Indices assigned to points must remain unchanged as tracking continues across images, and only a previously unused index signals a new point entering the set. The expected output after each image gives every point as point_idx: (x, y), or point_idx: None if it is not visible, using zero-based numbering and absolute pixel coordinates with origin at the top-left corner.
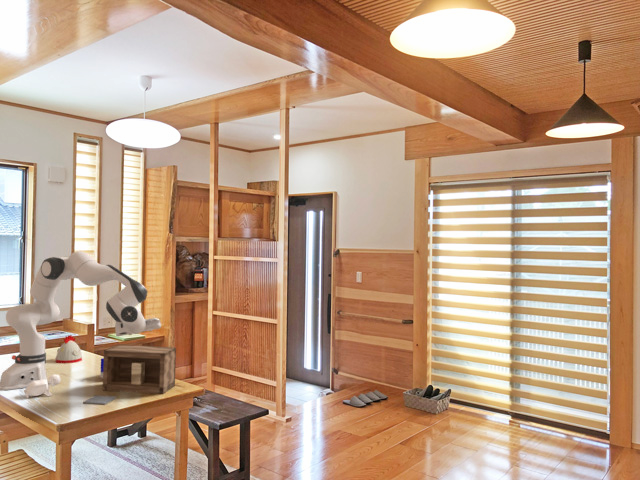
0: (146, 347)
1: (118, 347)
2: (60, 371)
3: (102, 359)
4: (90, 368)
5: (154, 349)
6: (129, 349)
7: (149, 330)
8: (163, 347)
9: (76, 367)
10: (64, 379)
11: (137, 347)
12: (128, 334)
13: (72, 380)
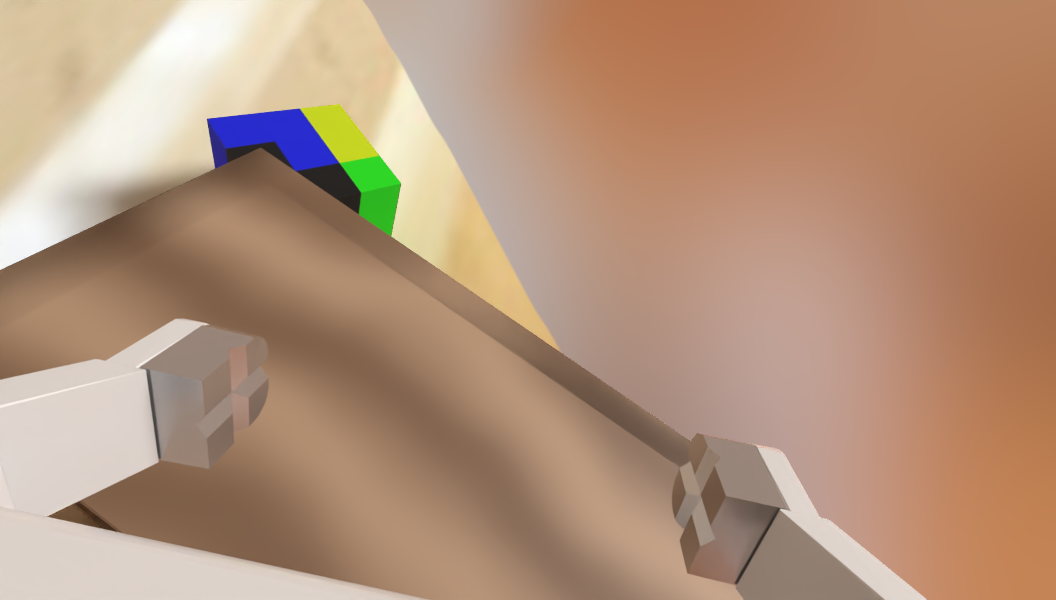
0: (508, 383)
1: (197, 251)
2: (83, 32)
3: (213, 131)
4: (250, 66)
5: (591, 546)
6: (278, 421)
7: (699, 576)
8: (683, 458)
9: (195, 26)
10: (2, 147)
11: (411, 343)
12: (115, 461)
13: (35, 185)
